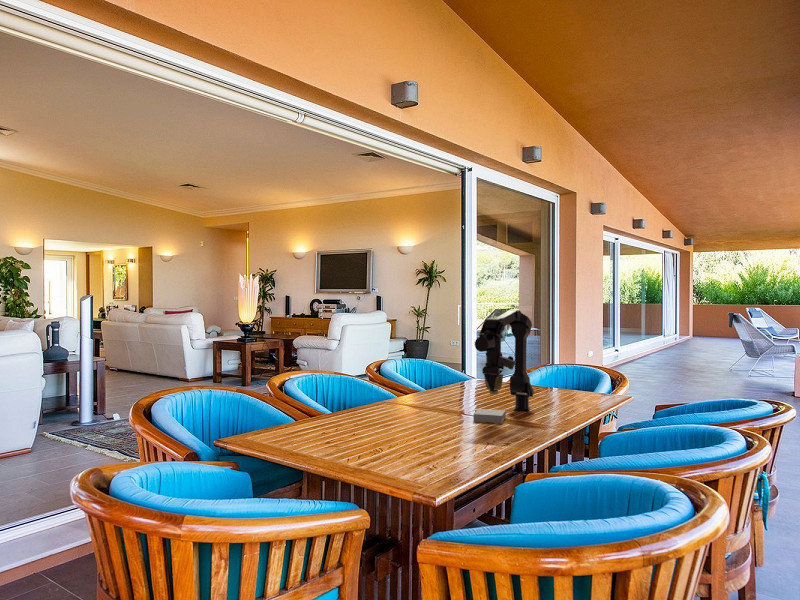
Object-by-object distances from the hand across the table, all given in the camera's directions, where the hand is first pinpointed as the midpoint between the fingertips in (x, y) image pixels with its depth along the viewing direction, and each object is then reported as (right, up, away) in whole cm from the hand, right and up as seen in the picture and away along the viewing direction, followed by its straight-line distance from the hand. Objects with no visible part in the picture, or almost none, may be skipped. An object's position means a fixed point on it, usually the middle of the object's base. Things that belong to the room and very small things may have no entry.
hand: (493, 389), depth 226 cm
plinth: (-1, -12, 0) cm, 12 cm away
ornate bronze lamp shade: (0, -2, 0) cm, 2 cm away
